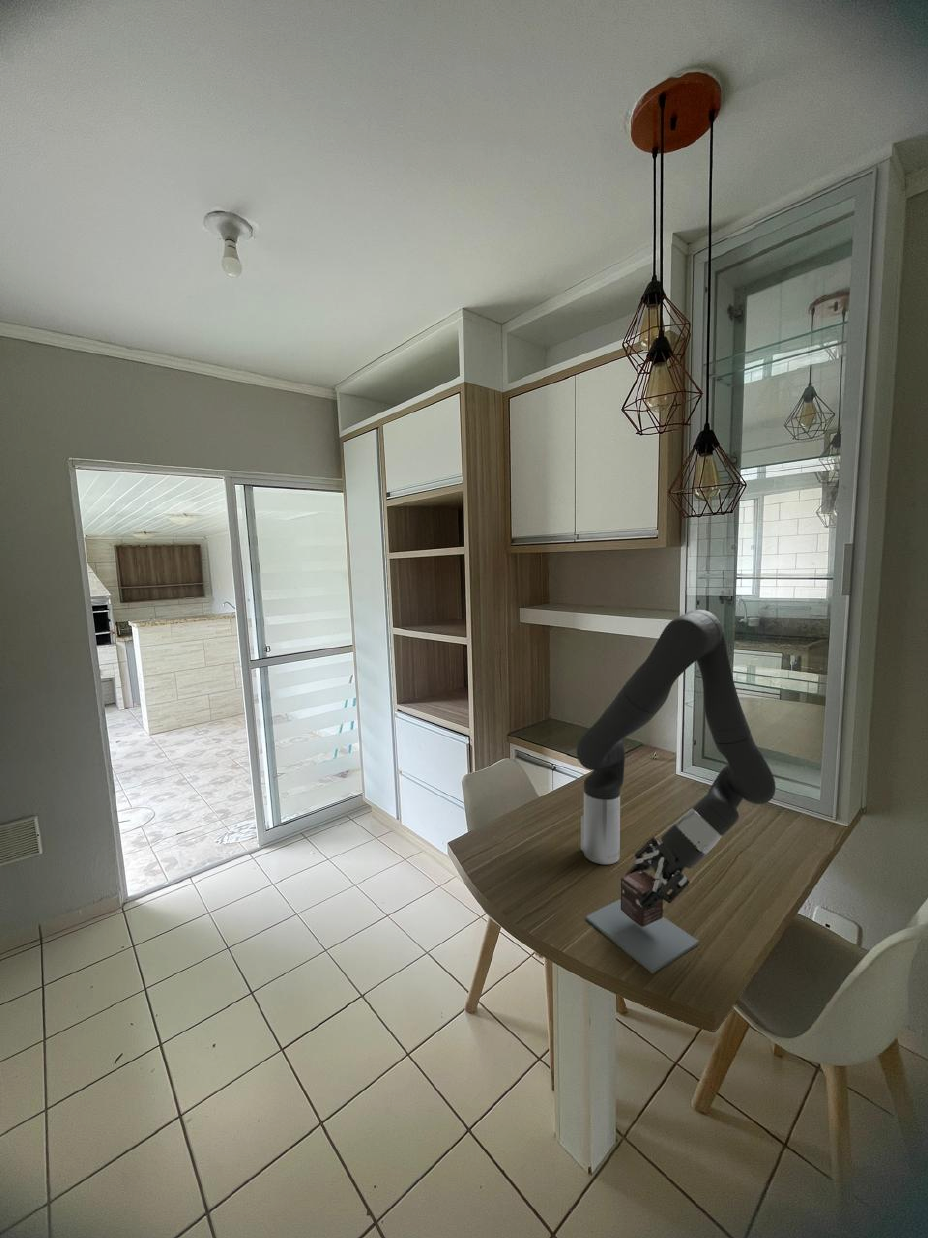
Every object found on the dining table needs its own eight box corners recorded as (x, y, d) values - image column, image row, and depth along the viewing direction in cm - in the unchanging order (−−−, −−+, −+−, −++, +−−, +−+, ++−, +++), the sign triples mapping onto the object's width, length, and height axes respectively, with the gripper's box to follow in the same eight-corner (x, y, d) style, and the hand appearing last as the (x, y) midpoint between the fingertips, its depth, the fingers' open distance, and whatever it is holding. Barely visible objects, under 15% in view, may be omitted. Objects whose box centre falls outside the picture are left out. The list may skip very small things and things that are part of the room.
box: (619, 910, 100) (619, 876, 100) (640, 901, 103) (641, 868, 102) (642, 928, 95) (642, 893, 94) (663, 918, 97) (664, 884, 97)
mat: (585, 919, 103) (585, 916, 103) (630, 896, 110) (630, 894, 110) (652, 974, 88) (652, 971, 88) (698, 944, 95) (698, 941, 95)
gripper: (663, 809, 105) (611, 861, 105) (695, 844, 90) (634, 904, 91) (687, 832, 105) (635, 883, 106) (722, 870, 91) (662, 930, 91)
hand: (634, 893), depth 98 cm, fingers closed on box, 8 cm apart
